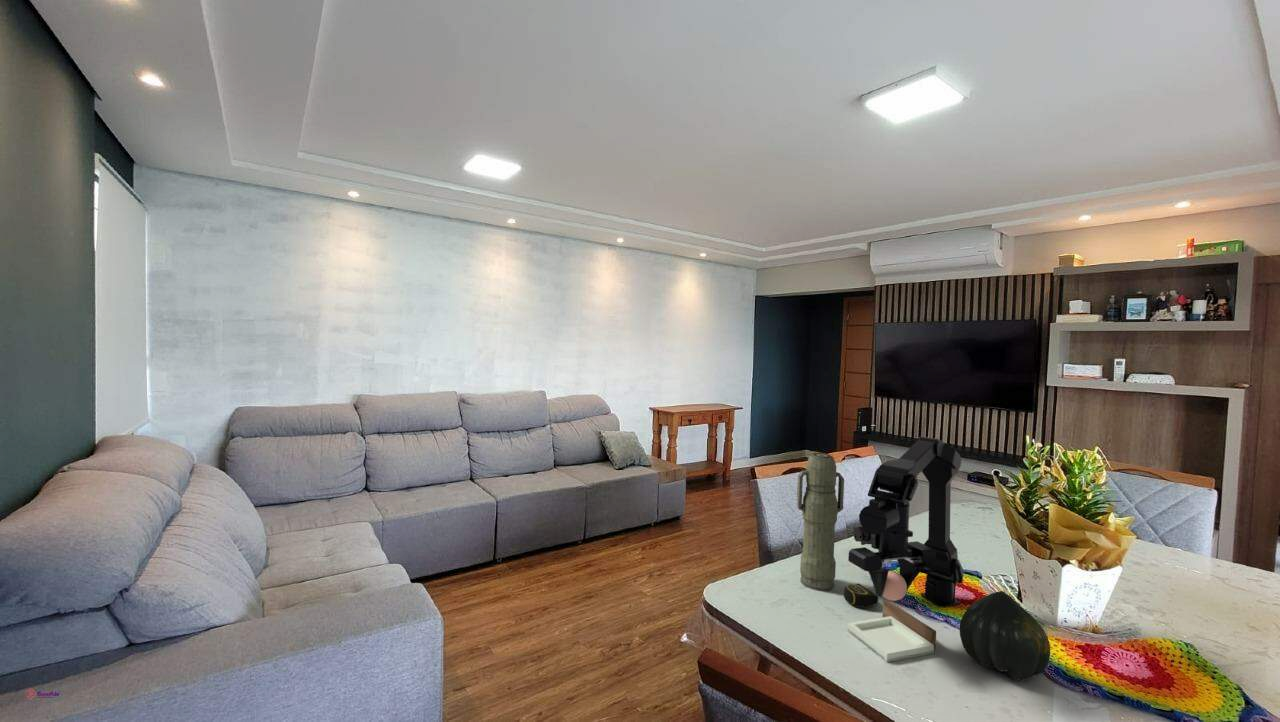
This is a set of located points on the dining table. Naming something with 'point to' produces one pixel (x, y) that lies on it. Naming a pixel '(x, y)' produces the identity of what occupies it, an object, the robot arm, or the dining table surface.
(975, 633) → the squash
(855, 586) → the tape measure
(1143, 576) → the dining table surface
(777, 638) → the dining table surface
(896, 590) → the ball
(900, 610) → the divider rail
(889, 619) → the dish
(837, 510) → the thermos
